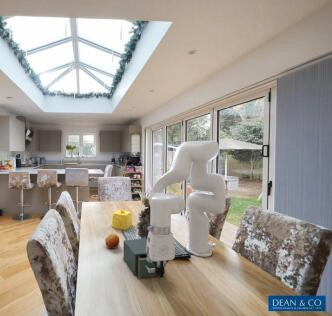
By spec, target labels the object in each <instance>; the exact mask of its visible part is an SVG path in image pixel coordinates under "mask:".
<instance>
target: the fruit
mask: <svg viewBox="0 0 332 316" xmlns="http://www.w3.org/2000/svg"><path fill="white" fill-rule="evenodd" d="M104 241H105V245H106V247H107V248H109V249H118V246H120V237H119V235H118V234H116V233H110V234H108V235H107V236H106V237H105V239H104Z"/></svg>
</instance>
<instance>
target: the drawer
mask: <svg viewBox="0 0 332 316" xmlns="http://www.w3.org/2000/svg"><path fill="white" fill-rule="evenodd" d="M146 259H147V258H140V256H137V272H138V275H137V276H138V278H146V277H147V278H148V277H155V276H157V274H156V273H155V264H154V263H150V262H148V261H147V260H146ZM165 272H166V266H165V267H164V275H165Z"/></svg>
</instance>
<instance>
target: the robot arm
mask: <svg viewBox="0 0 332 316" xmlns="http://www.w3.org/2000/svg"><path fill="white" fill-rule="evenodd" d="M219 152H220V146H219V143H218V142H217V141H216V140H211V139H210V140H187V141H183V142H181V144H180V145H179V146H177V147H176V150H175V152H174V155H173V158H172V161H171V163H170V167H169V170H168V171H167V172H165V173H164V174H163V175H161V176H160V177H159V178H158V179H157V180H156V181H155V182H154V183H153V186H152V188H151V191H150V193H149V197H148V204H149V206H150V214H149V215H150V216H149V217H150V218H149V219H150V222H149V226H147V227H146V229H147V231H148V234H147V238H146V239H147V245H146V254H147V259H146V260H147V261H148V262H150V263H154V264H155V273H156V274H157V275H156V276H157V277H158V278H159V279H162V278H164V276H165V274H164V267H165V268H166V266H167V264H168V262H171V261H172V260H174V259H175V257H176V245H175V239H174V234H173V233H174V232H172V229H171V228H172V215H178V214H181V213H183V212H184V210H185V208H186V200H185V199H184V197H183V196H181V195H179V194H174V193H173V194H172V193H166V192H164V190H165V189H166V188H168V187H169V186H171V185H174V184H177V183H181V182H185V181H186V180H188V179H189V186H190V188H191V189H192V190H194V192H190V193H189V194H188V196H187V206H188V244H187V245H185V250H186V252H188V253H189V254H191V255H193V256H196V257H201V258H203V257H204V258H207V257H211V256H212V255H213V251H212V249H216V248H217V247H218V246H217V243H211V242H210V218H209V216H208V215H207V213H210V214H216V215H221V214H224V213H225V211H226V203H227V201H226V200H227V199H226V180H225V177H224V176H223V175H222V174H220V173H214V172H213V173H212V172H211V173H210V172H209V169H208V163H209V162H211V161H213V160H214V159H216V157H218V155H219ZM198 191H199V192H198Z"/></svg>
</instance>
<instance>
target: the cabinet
mask: <svg viewBox="0 0 332 316" xmlns="http://www.w3.org/2000/svg"><path fill="white" fill-rule="evenodd" d="M146 245H147V238H135V239H134V238H133V239H125V240H124V239H123V261H125V263H126V264H127V266H128V268H130V271H131V272H132V273H133V275H134V276H138V272H137V256H141V255H147V254H146Z"/></svg>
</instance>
